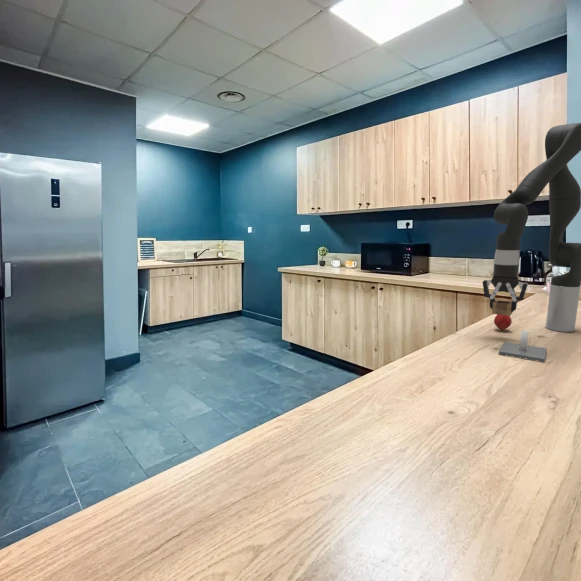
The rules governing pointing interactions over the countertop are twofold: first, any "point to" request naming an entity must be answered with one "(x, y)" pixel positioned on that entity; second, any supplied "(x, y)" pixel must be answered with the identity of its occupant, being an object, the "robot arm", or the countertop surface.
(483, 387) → the countertop surface
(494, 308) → the ring
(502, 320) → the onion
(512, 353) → the post stand
